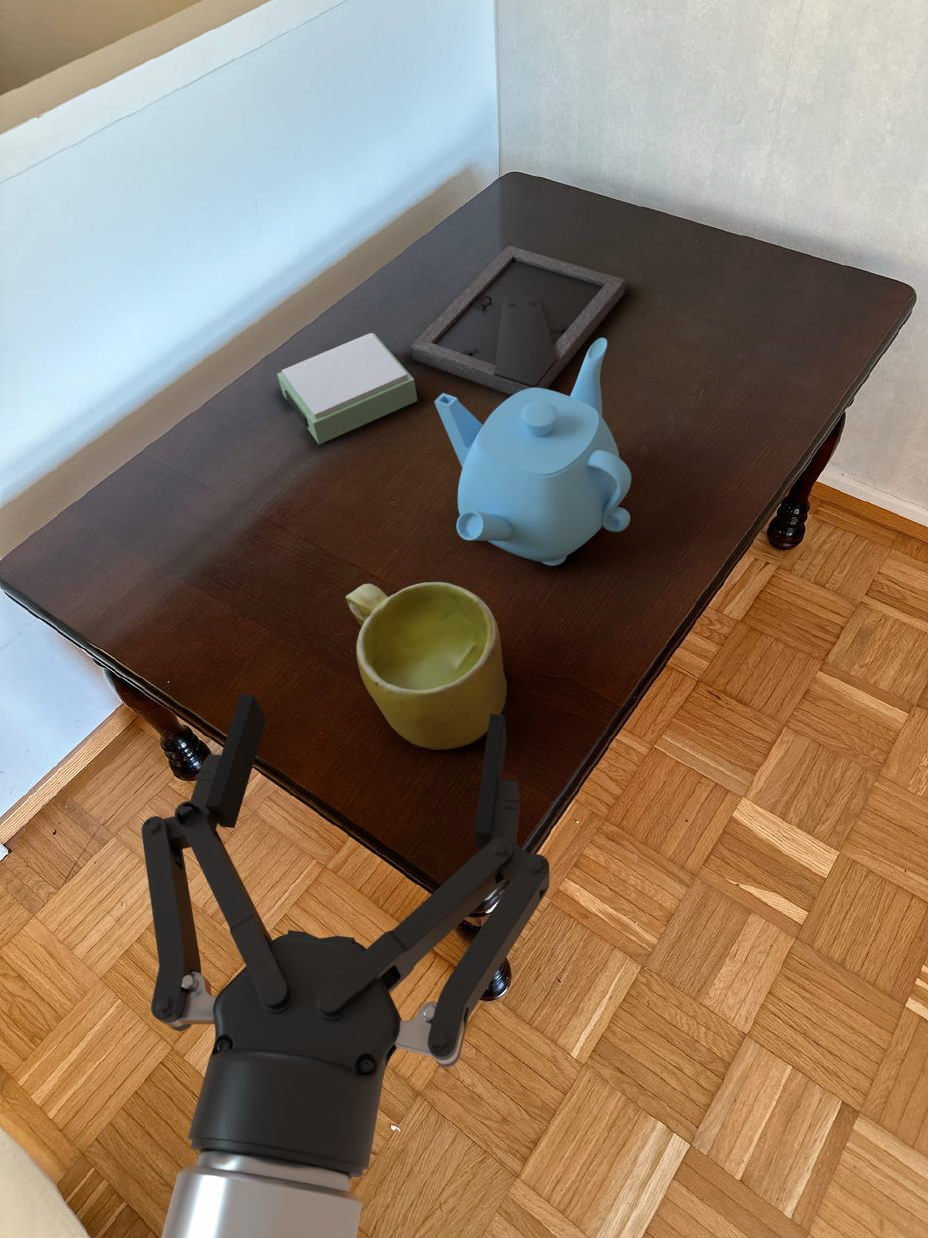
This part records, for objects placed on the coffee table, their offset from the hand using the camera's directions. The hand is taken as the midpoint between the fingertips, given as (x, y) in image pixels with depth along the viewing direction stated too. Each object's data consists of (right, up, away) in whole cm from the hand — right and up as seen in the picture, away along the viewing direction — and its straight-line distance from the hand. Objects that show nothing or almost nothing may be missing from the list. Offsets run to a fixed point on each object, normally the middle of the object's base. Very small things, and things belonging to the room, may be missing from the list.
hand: (374, 715), depth 49 cm
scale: (-6, +26, +35) cm, 43 cm away
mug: (+2, 0, +16) cm, 16 cm away
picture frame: (+10, +34, +39) cm, 52 cm away
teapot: (+11, +14, +25) cm, 30 cm away
